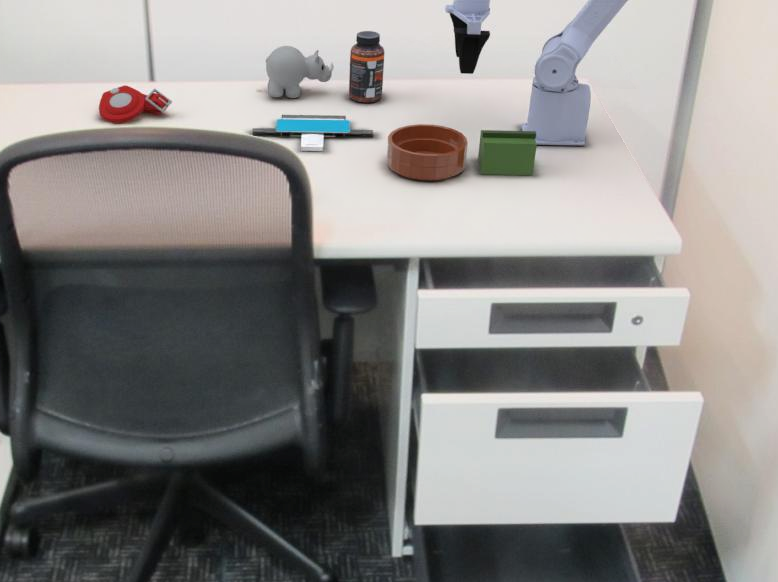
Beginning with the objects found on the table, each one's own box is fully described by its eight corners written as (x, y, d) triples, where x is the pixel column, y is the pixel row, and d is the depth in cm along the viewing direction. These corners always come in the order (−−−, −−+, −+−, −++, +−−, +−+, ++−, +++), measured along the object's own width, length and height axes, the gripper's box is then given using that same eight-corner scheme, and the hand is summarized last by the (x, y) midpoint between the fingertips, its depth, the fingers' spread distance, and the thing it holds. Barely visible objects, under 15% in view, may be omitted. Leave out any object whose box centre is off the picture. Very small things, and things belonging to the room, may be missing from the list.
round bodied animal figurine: (334, 101, 197) (335, 53, 192) (266, 101, 197) (265, 53, 192) (331, 86, 203) (333, 40, 198) (265, 87, 203) (265, 40, 198)
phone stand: (250, 150, 180) (249, 140, 179) (254, 121, 189) (254, 112, 188) (374, 152, 180) (374, 142, 179) (372, 123, 189) (372, 114, 188)
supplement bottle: (379, 105, 196) (382, 40, 189) (346, 102, 197) (348, 38, 190) (384, 93, 201) (387, 30, 194) (351, 90, 202) (353, 27, 195)
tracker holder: (104, 121, 186) (88, 88, 192) (111, 142, 190) (95, 108, 195) (172, 97, 188) (154, 64, 194) (177, 117, 191) (159, 85, 197)
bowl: (461, 151, 180) (463, 124, 177) (467, 183, 170) (470, 156, 168) (385, 150, 180) (386, 123, 178) (387, 182, 170) (389, 154, 168)
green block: (528, 162, 177) (533, 126, 173) (533, 175, 173) (538, 138, 169) (476, 161, 177) (480, 124, 173) (480, 174, 173) (484, 137, 169)
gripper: (445, -35, 181) (437, 48, 189) (452, -9, 169) (443, 79, 177) (488, -34, 180) (478, 50, 189) (498, -7, 169) (487, 81, 177)
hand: (464, 64), depth 183 cm, fingers open, 7 cm apart
